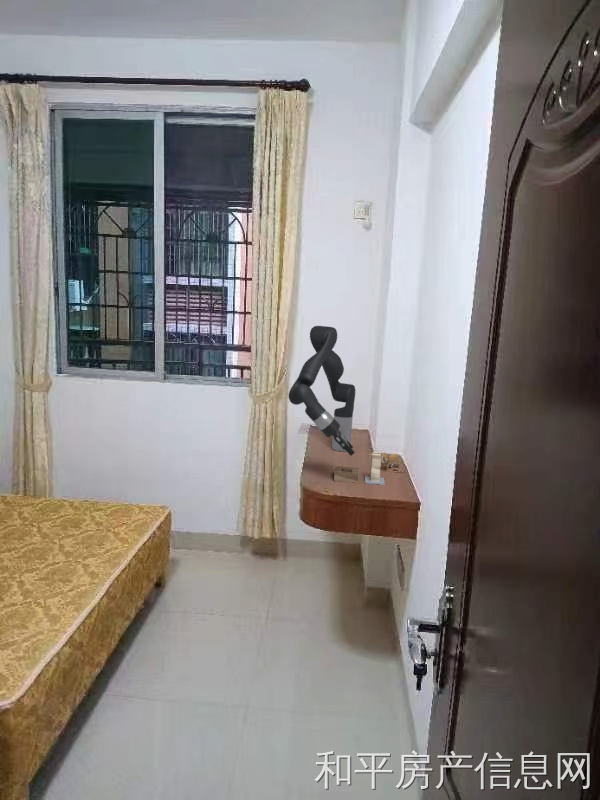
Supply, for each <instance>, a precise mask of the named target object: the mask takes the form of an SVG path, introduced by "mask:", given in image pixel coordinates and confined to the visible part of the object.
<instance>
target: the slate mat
mask: <svg viewBox="0 0 600 800" xmlns="http://www.w3.org/2000/svg"><path fill="white" fill-rule="evenodd" d="M365 483H367V485H376V484H380V486H385V484H386V483H385V477H381V476H380V479H379V482H377V481H371V480H370V475H369V476H366V475H365V476H364V484H365Z"/></svg>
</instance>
